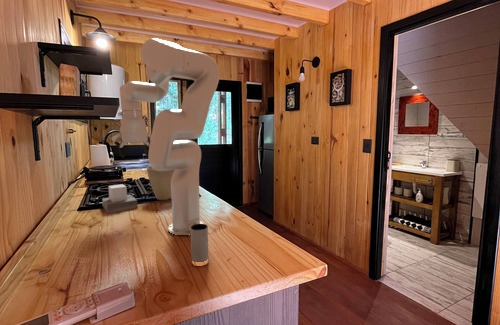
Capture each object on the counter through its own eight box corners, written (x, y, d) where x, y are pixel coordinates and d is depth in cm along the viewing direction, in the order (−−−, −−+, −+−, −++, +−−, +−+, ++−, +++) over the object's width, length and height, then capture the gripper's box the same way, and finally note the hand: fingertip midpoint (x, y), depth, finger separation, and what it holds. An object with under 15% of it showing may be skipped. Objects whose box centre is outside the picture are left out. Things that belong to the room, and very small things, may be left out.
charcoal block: (137, 208, 121) (137, 200, 120) (107, 214, 113) (107, 204, 113) (130, 202, 130) (130, 194, 129) (102, 207, 123) (102, 198, 122)
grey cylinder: (192, 268, 71) (191, 230, 69) (190, 259, 75) (189, 224, 73) (209, 265, 72) (208, 228, 70) (207, 257, 76) (206, 222, 75)
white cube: (127, 199, 121) (126, 186, 120) (112, 202, 117) (111, 188, 116) (123, 196, 125) (122, 184, 124) (109, 199, 121) (108, 185, 121)
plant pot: (147, 196, 139) (145, 165, 137) (176, 192, 146) (175, 163, 143) (149, 203, 126) (147, 170, 124) (182, 200, 132) (180, 168, 130)
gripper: (111, 114, 105) (115, 158, 107) (155, 115, 115) (158, 155, 118) (107, 115, 111) (111, 157, 113) (149, 116, 121) (152, 154, 123)
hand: (135, 156), depth 115 cm, fingers open, 9 cm apart
